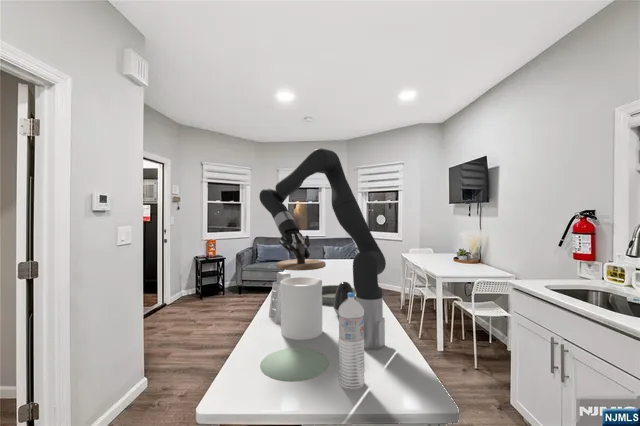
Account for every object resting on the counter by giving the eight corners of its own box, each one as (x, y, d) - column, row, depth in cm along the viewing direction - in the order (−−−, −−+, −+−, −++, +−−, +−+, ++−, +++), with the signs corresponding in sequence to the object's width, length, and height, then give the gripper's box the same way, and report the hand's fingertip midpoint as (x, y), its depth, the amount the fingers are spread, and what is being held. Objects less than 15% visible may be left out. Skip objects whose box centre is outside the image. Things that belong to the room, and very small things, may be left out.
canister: (326, 327, 127) (326, 278, 126) (315, 343, 111) (315, 287, 111) (289, 323, 131) (289, 276, 131) (274, 338, 116) (273, 284, 115)
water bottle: (348, 376, 89) (347, 288, 89) (369, 384, 85) (368, 292, 85) (333, 386, 84) (333, 293, 84) (355, 396, 79) (354, 298, 79)
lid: (334, 264, 124) (334, 242, 124) (308, 272, 108) (308, 247, 108) (294, 260, 134) (294, 240, 134) (265, 267, 117) (265, 244, 117)
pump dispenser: (331, 318, 137) (331, 283, 137) (335, 311, 147) (335, 278, 147) (354, 320, 134) (354, 285, 134) (357, 312, 144) (357, 279, 144)
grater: (277, 324, 131) (276, 276, 131) (268, 316, 140) (268, 272, 140) (299, 319, 136) (299, 273, 136) (290, 312, 145) (290, 269, 145)
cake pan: (306, 295, 176) (305, 287, 176) (346, 291, 184) (346, 283, 184) (319, 308, 153) (319, 298, 153) (364, 302, 160) (364, 294, 160)
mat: (340, 358, 100) (340, 356, 100) (304, 391, 82) (304, 389, 82) (287, 344, 110) (287, 342, 110) (245, 371, 92) (245, 369, 92)
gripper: (275, 218, 122) (293, 253, 113) (303, 218, 131) (322, 249, 122) (268, 231, 126) (285, 266, 117) (296, 230, 135) (314, 261, 126)
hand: (304, 257), depth 119 cm, fingers closed on lid, 3 cm apart
